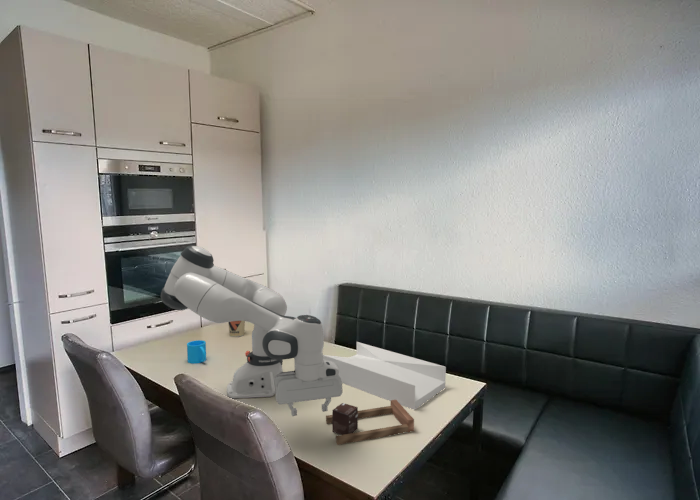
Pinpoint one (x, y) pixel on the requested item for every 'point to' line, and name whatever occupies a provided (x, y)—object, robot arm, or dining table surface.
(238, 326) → the coffee cup
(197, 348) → the mug
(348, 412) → the box
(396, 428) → the guide channel
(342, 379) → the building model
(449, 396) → the dining table surface
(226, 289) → the robot arm
